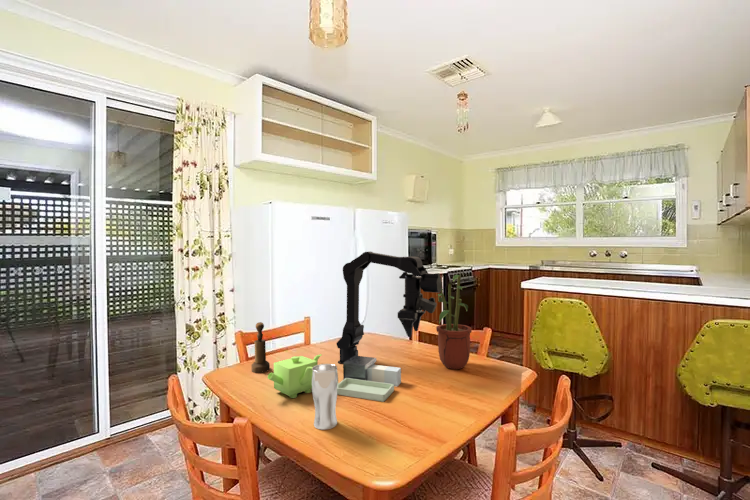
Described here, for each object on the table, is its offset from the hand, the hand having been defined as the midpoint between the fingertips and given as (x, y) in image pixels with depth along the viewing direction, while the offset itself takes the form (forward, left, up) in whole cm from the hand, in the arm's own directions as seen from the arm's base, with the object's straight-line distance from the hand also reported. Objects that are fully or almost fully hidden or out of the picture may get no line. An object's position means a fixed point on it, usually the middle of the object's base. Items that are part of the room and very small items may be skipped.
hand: (412, 333), depth 138 cm
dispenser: (-16, -13, -14) cm, 25 cm away
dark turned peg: (-55, -17, -14) cm, 59 cm away
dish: (-10, -23, -14) cm, 29 cm away
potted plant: (+10, +11, -14) cm, 21 cm away
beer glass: (-11, -46, -14) cm, 49 cm away
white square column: (-8, -13, -14) cm, 21 cm away
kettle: (-30, -30, -14) cm, 45 cm away
